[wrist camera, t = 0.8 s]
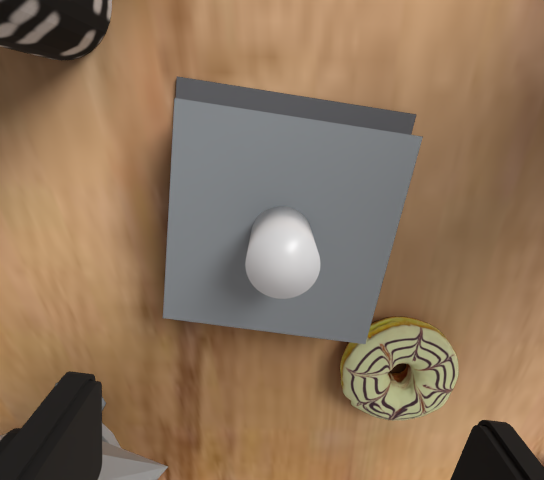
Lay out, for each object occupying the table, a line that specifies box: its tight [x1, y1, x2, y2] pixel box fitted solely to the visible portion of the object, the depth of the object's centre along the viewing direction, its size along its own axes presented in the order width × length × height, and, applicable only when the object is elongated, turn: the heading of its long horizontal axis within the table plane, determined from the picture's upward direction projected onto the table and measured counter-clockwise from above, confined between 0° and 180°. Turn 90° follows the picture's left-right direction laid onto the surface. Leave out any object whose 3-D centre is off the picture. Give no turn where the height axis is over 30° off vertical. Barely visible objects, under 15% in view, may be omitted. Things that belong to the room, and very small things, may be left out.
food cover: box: [163, 98, 423, 344], centre depth 24 cm, size 15×15×11 cm
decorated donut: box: [340, 316, 458, 420], centre depth 33 cm, size 10×11×4 cm
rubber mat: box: [176, 77, 416, 135], centre depth 30 cm, size 18×18×1 cm
